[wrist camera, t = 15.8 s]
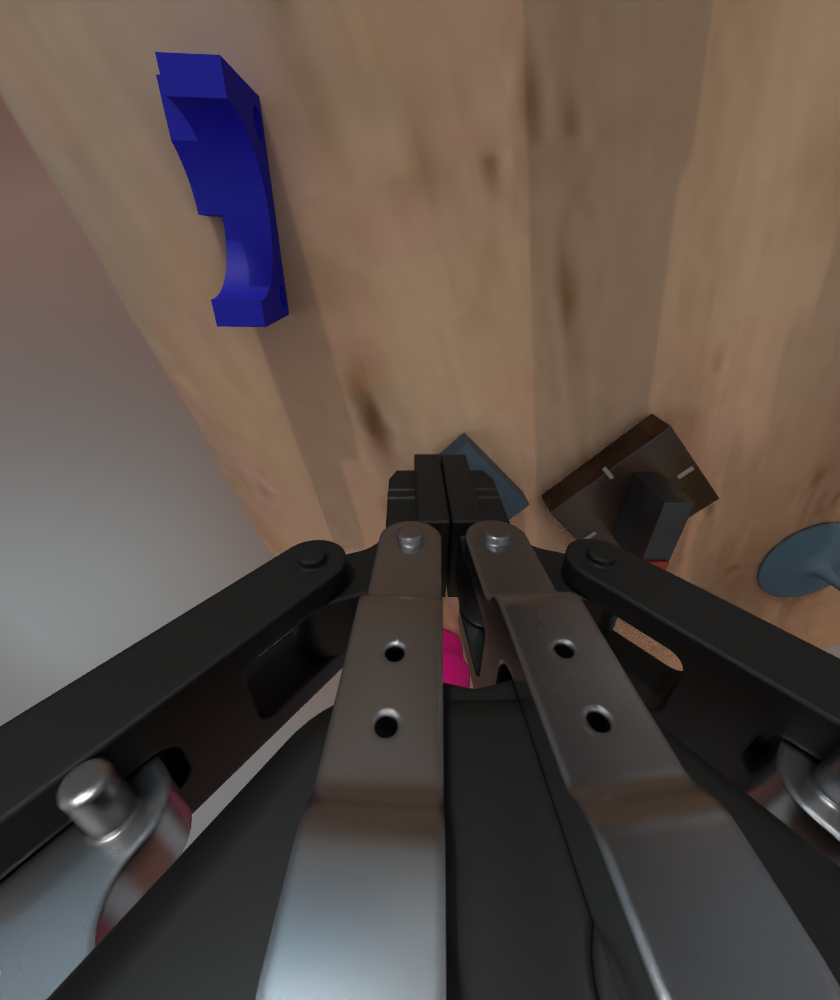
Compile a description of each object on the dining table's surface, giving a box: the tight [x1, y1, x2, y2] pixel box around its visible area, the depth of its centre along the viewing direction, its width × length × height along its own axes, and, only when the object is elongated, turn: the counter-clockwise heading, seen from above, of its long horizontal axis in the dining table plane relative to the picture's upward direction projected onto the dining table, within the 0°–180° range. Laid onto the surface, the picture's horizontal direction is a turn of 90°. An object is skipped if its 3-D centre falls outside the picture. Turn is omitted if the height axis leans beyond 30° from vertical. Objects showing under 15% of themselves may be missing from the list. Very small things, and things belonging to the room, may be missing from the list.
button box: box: [439, 433, 529, 519], centre depth 38 cm, size 10×9×4 cm
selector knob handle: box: [613, 473, 695, 570], centre depth 35 cm, size 7×2×5 cm, turn 179°
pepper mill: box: [443, 630, 470, 688], centre depth 43 cm, size 7×7×20 cm
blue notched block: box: [155, 52, 289, 327], centre depth 25 cm, size 12×4×6 cm, turn 179°
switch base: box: [542, 414, 719, 548], centre depth 38 cm, size 12×11×3 cm
